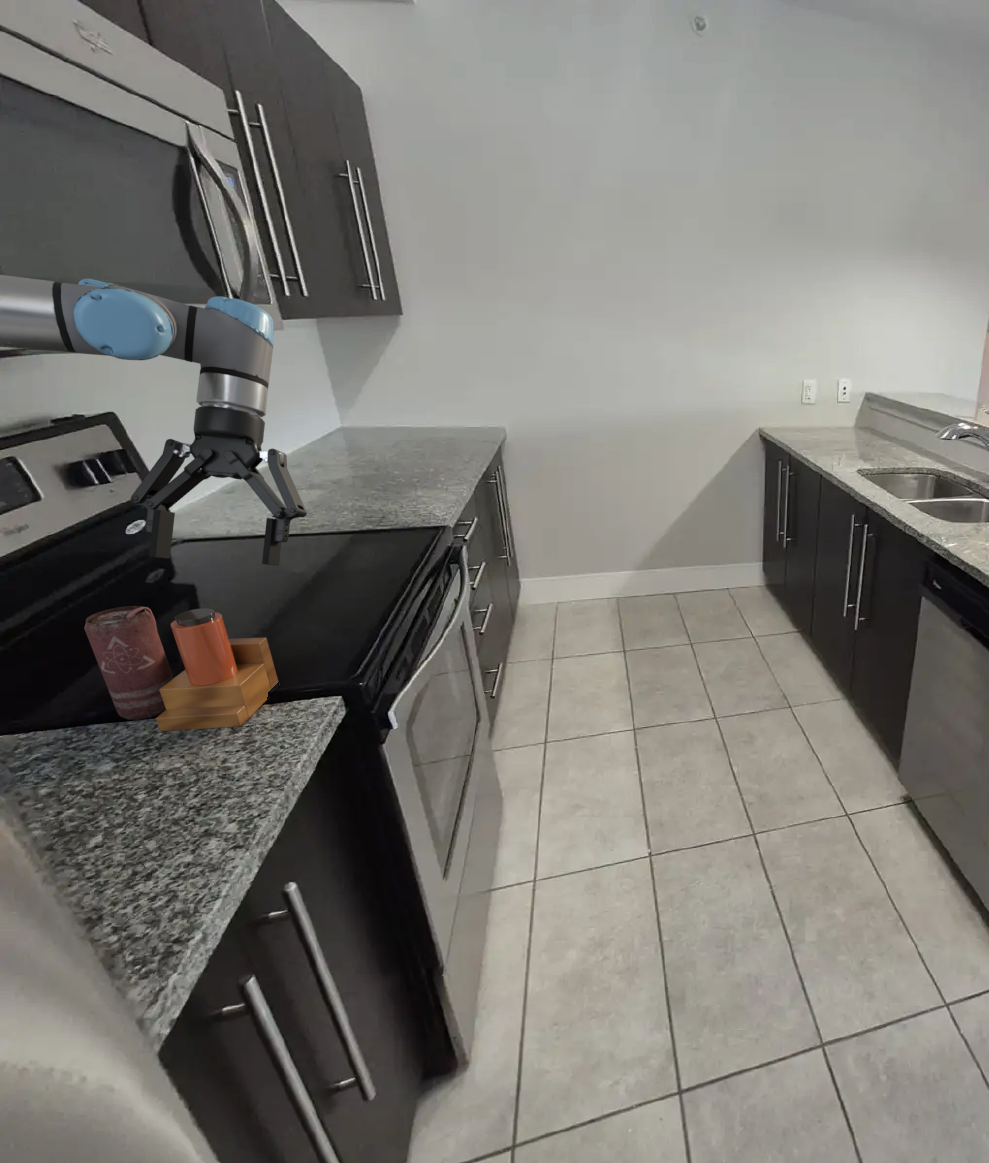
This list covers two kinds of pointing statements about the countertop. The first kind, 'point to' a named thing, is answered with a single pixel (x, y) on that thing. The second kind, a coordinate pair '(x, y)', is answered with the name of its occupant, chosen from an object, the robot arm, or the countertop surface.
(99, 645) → the can
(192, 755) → the countertop surface
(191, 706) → the wooden stair steps
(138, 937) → the countertop surface
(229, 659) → the spice jar
